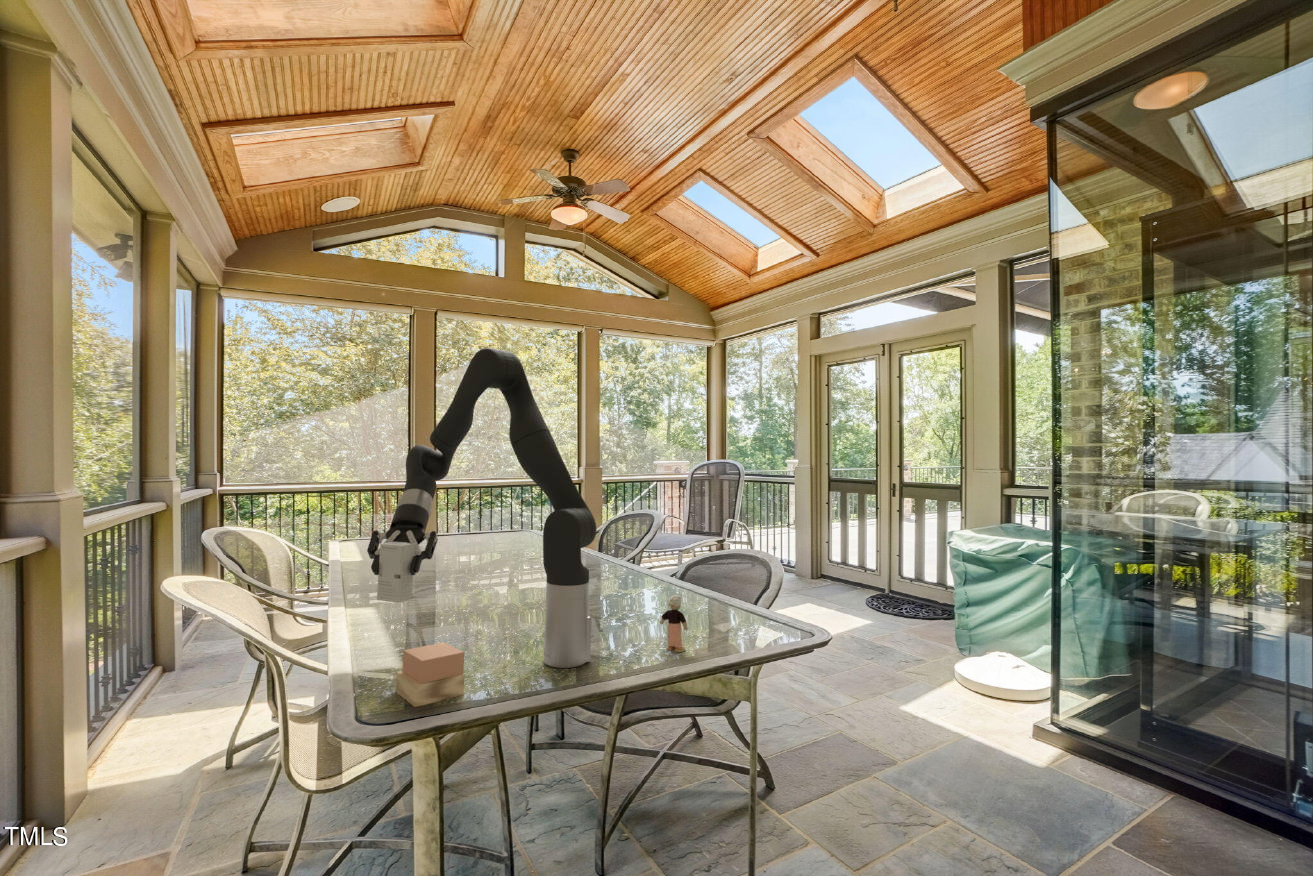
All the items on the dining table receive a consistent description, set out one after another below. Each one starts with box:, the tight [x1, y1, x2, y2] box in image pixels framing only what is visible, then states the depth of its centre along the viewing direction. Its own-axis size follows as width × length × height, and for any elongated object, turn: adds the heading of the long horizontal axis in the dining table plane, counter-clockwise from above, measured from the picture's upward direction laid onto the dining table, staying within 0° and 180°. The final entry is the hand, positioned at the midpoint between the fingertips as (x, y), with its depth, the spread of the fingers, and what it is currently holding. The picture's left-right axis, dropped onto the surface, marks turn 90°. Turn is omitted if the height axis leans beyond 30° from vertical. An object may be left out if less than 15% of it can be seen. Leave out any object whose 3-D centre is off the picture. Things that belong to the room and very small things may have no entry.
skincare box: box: [376, 541, 415, 604], centre depth 131 cm, size 6×4×12 cm
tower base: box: [395, 670, 465, 708], centre depth 113 cm, size 9×9×4 cm
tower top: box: [401, 642, 465, 684], centre depth 113 cm, size 8×8×4 cm
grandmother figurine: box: [659, 594, 689, 653], centre depth 144 cm, size 8×4×13 cm, turn 65°
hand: (394, 572), depth 129 cm, fingers closed on skincare box, 7 cm apart
